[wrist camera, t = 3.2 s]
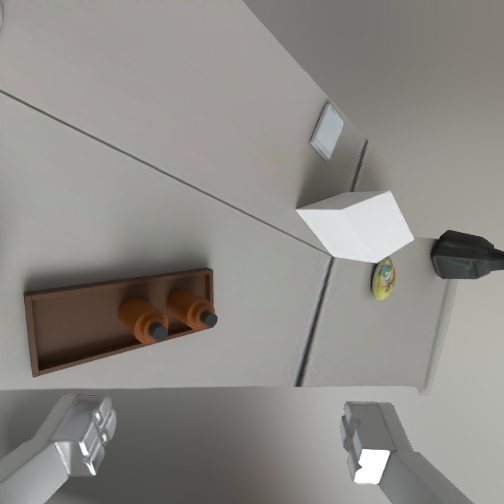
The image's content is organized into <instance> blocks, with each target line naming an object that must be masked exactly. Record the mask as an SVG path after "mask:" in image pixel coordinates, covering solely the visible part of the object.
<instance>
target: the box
mask: <svg viewBox="0 0 504 504" xmlns="http://www.w3.org/2000/svg"><path fill="white" fill-rule="evenodd" d="M296 211H297V212H298V213H299V214H300V216H301V217H302V218H303V220H304V221H305V222H306V223H307V225H308V226H309V227H310V228H311V230H312V231H313V232H314V233H315V235H316V236H317V237H318V238H319V240H320V241H321V242H322V243H323V245H324V246H325V247H326V248H327V250H328V251H329V252H330V253H331V255H332V256H333V257H339V258H346V259H352V260H359V261H365V262H372V263H378V262H379V261H381V260H382V259H384V258H386V257H387V256H389V255H390V254H392V253H394V252H395V251H397V250H398V249H400V248H401V247H403V246H405V245H406V244H408V243H409V242H411V241H412V240H414V238H413V236H412V234H411V232H410V230H409V228H408V226H407V224H406V222H405V220H404V218H403V216H402V214H401V212H400V210H399V208H398V206H397V204H396V202H395V199H394V197H393V195H392V193H391V191H368V192H345V193H342V194H339V195H336V196H333V197H330V198H327V199H324V200H321V201H319V202H316V203H313V204H310V205H307V206H304V207H301V208H298V209H296Z"/></svg>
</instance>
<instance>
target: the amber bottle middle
mask: <svg viewBox="0 0 504 504" xmlns="http://www.w3.org/2000/svg"><path fill="white" fill-rule="evenodd" d="M118 317H119V320H120V322H121V323H122V324H123V325H124V326H125V327H126V328H127V329H128V330H129V331H130V332H131V333H132V334H133V335H134V336H135V337H136V338H137V339H138V340H139V341H140V342H142V343H145V344H151V343H155V342H157V341H158V342H159V341H163V340H164V339H165V338H166V337H167V335H168V330H167V329H168V324H169V323H168V318H167V316H166V315H165V313H163V312H162V311H160V310H159V309H158V308H156V307H155V306H153V305H152V304H150V303H149V302H147V301H146V300H144V299H143V298H140V297H133V298H130V299H128V300H126V301H125V302H124V303H123V304H122V305H121V307H120V309H119V312H118Z"/></svg>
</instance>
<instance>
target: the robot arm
mask: <svg viewBox="0 0 504 504" xmlns="http://www.w3.org/2000/svg"><path fill="white" fill-rule="evenodd" d="M2 22H3V8H2V3H1V0H0V30H1V27H2ZM111 405H112V399H111V396H103V395H82V394H64V395H63V396H62V397H61V398H60V399H59V400H58V402H57V403H56V405H55V406H54V408H53V409H52V411H51V412H50V414H49V415H48V417H47V418H46V420H45V421H44V423H43V424H42V426H41V427H40V429H39V430H38V431H37V433H36V434H35V436H34V437H33V439H32V441H26V442H25V443H23V444H22V445H21V446H19V447H18V448H17V449H15V450H14V451H12V452H11V453H10V454H8V455H7V456H5V457H4V458H3V459H1V460H0V504H44V503H45V501H47V500H48V498H49V497H50V496H51V495H52V494H53V493H54V492H55V491H56V490H57V489H58V488H59V487H60V486H61V485H62V484H63V483H64V482H65V481H66V480H67V479H68V478H69V477H68V476H95V475H96V473H97V470H98V468H99V466H100V463H101V461H102V459H103V457H104V450H103V447H104V446H105V445H106V444H107V443H108V442H109V441H110V440H111V438H112V436H113V433H114V430H115V426H116V413H115V410H113V409H112V408H111ZM344 412H345V415H344V416H342V417H341V423H340V429H341V438H342V443H343V447H344V448H345V449H346V450H347V452H348V453H349V455H348V459H347V463H348V467H349V471H350V475H351V478H352V483H354V484H371V485H379V487H380V488H381V490H382V491H383V492H384V494H385V495H386V496H387V498H388V499H389V500H390V501H391V503H392V504H474V503H473V502H472V501H471V500H470V499H468V498H467V497H466V496H465V495H464V494H463V493H462V492H461V491H460V490H459V489H458V488H457V487H456V486H455V485H454V484H452V483H451V482H450V481H449V480H448V479H447V478H446V477H445V476H444V475H443V474H442V473H441V472H440V471H439V470H437V469H436V468H435V467H434V466H433V465H432V464H431V463H430V462H429V461H428V460H427V459H426V458H425V457H423V456H422V455H421V454H420V453H419V452H414V450H413V448H412V446H411V444H410V442H409V439H408V437H407V435H406V432H405V430H404V428H403V426H402V424H401V421H400V419H399V417H398V415H397V413H396V410H395V408H394V406H393V405H392V404H391V403H388V402H385V403H383V402H381V403H380V402H346V403H345V405H344Z"/></svg>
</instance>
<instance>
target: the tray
mask: <svg viewBox="0 0 504 504" xmlns="http://www.w3.org/2000/svg"><path fill="white" fill-rule="evenodd" d="M178 289H184V290H187V291H189V292H191V293H193V294H195V295H197V296H200V297H202V298H204V299H206V300H208V301H210V302H211V303H212V304H213V270H212V269H209V268H203V269H196V270H188V271H181V272H173V273H166V274H158V275H151V276H144V277H136V278H129V279H121V280H114V281H106V282H99V283H92V284H84V285H77V286H69V287H62V288H54V289H47V290H40V291H32V292H25V293H24V301H25V311H26V320H27V330H28V339H29V348H30V358H31V367H32V375H33V377H37V376H39V375H44V374H47V373H51V372H54V371H58V370H62V369H65V368H69V367H72V366H76V365H80V364H83V363H87V362H90V361H94V360H97V359H101V358H105V357H108V356H112V355H115V354H119V353H123V352H126V351H130V350H133V349H137V348H141V347H144V346H148V345H151V344H155V343H159V342H162V341H159V342H158V341H157V342H155V343H151V344H145V343H142V342H140V341H139V340H138V339H137V338H136V337H135V336H134V335H133V334H132V333H131V332H130V331H129V330H128V329H127V328H126V327H125V326H124V325H123V324H122V323H121V322H120V320H119V317H118V312H119V309H120V307H121V305H122V304H123V303H124V302H125V301H126V300H128V299H130V298H133V297H140V298H143V299H144V300H146V301H147V302H149V303H150V304H152V305H153V306H155V307H156V308H158V309H159V310H160V311H162V312H163V313H165V315H166V316H167V318H168V323H169V324H168V329H167V330H168V335H167V337H166V338H165V339H164V340H163V341H166V340H169V339H173V338H177V337H180V336H184V335H187V334H191V333H195V332H198V331H202V330H205V329H209V328H213V327H214V326H213V327H206V328H204V329H202V330H194V329H192V328H191V327H189V326H188V325H186V324H185V323H183V322H182V321H180V320H179V319H177V318H176V317H174V316H173V315H171V314H170V313H169V312H168V310H167V307H166V303H167V299H168V297H169V296H170V294H171V293H172V292H174V291H175V290H178Z"/></svg>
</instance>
